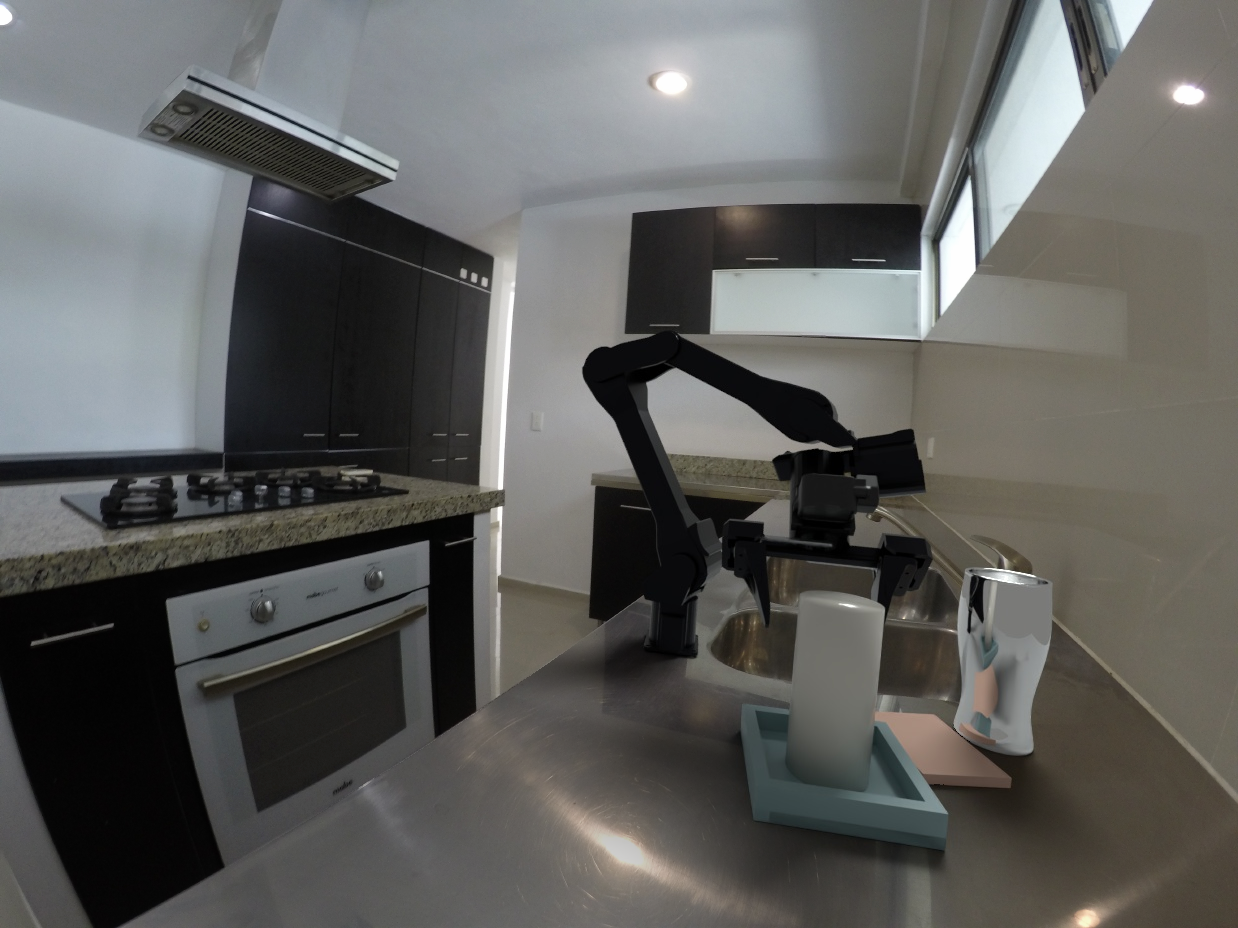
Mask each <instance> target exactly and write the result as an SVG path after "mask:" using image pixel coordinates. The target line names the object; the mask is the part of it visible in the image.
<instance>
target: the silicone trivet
mask: <svg viewBox="0 0 1238 928" xmlns="http://www.w3.org/2000/svg"><path fill="white" fill-rule="evenodd" d="M875 721H881V722H886V723H887V725H888V726H889V728H890V729H891V731H892V732H893V734H894V735H895V736H896V738H897V739H898V741H899V742H900V744H901V745H902V747H903V748H904V750H905V751H906V753H907V754H908V755H909V757H910V758H911V760H912V761H913V763H914V764H915V766H916V767H917V769H918V770H919V772H920V773H921V775H922V776H923V777H924V779H925V780H926V782H927V783H928V785H934V784H940V785H939V786H958V787H960V786H961V787H981V788H999V789H1011V786H1012V777H1011V776H1010V775H1008V773H1006V772H1005V771H1004V770H1002V768H1000V767H999V766H998V765H997V764H995V763H994V762H993V761H992V760H991V759H989V758H988V757H987V756H985V755H984V754H983V753H982V752H981V751H980V750H978V749H977V748H976V747H975V746H974V745H973V744H972V743H971V742H969V741H967V740H966V739H964V738H963V737H961V736H960V735H959V734H958V733H957V732H956V731H955V729H954V730H953V729H952V727H950V726H949V725H948V724H946V723H945V722H944V721H943V720H942V719H941V718H939V717H938V716H937V715H936V714H933V713H931V714H930V713H913V712H892V711H877V710H876V711H875ZM943 784H944V785H943Z"/></svg>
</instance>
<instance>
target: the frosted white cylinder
mask: <svg viewBox="0 0 1238 928" xmlns="http://www.w3.org/2000/svg"><path fill="white" fill-rule="evenodd" d="M884 615H885V608H884V606H882V605H881V604H879V603H877V602H875V601H873V600H871V598H870V599H869V598H866V597H863V596H859V595H855V594H851V593H845V592H842V591H832V590H815V589H814V590H806V591H802V592H800V593H799V597H798V608H797V618H796V619H797V620H796V629H795V631H796V632H795V641H794V642H795V643H794V652H793V653H794V654H793V655H794V656H793V665H792V666H793V667H792V679H791V687H790V688H791V689H790V701H789V722H788V733H787V745H786V756H785V763H786V766H787V768H788V769H789V771H790V772H791V773H792V774H793V775H794V776H795V777H796V778H798V779H799V780H801V781H802V782H804V783H806V784H808V785H815V786H822V787H829V788H835V789H842V790H849V791H856V792H862V791H864V790H865V789H866V788H867V787H868V785H869V776H870V765H871V754H872V744H873V733H874V722H875V711H877V710H876V709H877V699H878V687H879V677H880V669H881V668H880V667H881V658H882V657H881V654H882V647H883V646H882V644H883V634H884V629H883V625H884ZM884 626H885V625H884Z"/></svg>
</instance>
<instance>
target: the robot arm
mask: <svg viewBox="0 0 1238 928" xmlns="http://www.w3.org/2000/svg"><path fill="white" fill-rule="evenodd" d="M584 360H585V361H584V364H583V366H582V367H581V374H582V378H583V381H584V382H585V384H586V386H587V388H588V389H589V392H590V393H591V394H592V396H593V398H594V399H595V400H596V402H597V403H598V404H599V405H600V406H601V407H602V408H603V409H604V410H605V412H606V413H607V414H608V415H609V417H611V419H612V420H613V422H614V424H615V427H616V428H617V431H618V433H619V435H620V438H621V441H622V443H623V445H624V448H625V451H626V453H627V455H628V458H629V460H630V463H631V465H632V467H633V469H634V473H635V475H636V478H637V480H638V483H639V484H640V487H641V490H642V492H643V494H644V497H645V499H646V501H647V504H648V507H649V509H650V512H651V515H652V516H653V519H654V522H655V530H656V531H655V532H656V534H655V535H656V536H655V537H656V538H655V541H656V542H655V544H656V553H657V556H658V561H659V565H660V566H659V567H657V569H655V570H654V571H653V572H651V573H650V574H649V575H648V576H647V577H646V578H644V580H642V581H641V582H640V585H641V589H642V590H641V591H642V594H643V598H644V600H645V601H650V602H651V605H650V619H649V629H647V632H646V636H645V639H644V643H643V647H642V648H643V650H644V651H651V652H659V653H665V654H667V653H668V654H677V655H684V656H691V657H692V656H693V657H696V656H699V635H698V634H696V633H697V632H696V631H697V622H698V621H697V619H698V609H699V608H698V605H699V596H698V594H700V593H703V592H704V590H705V589H706V586H707V584H708V583H709V582H711V581H713V580H714V579H715V578H716V577H717V576H718V575H719V574H720V573H721V571H722V568H723V569H724V570H726V571H728V572H729V571H731V572H733V575H734V577H736V578H738V579H743V581H744V582H745V583H746V586H747V588H748V589H749V592H751V595H752V596H753V599H754V602H755V605H756V608H757V609H758V613H759V616H760V619H761V622H762V624H763V626H764V627H763V628H765V629H769V628H770V624H771V598H770V596H771V595H770V588H769V576H768V564H767V563H768V561H767V557H770V558H779V559H787V560H794V561H795V560H797V561H806V563H809V564H819V565H825V566H826V565H829V566H837V567H846V568H854V569H855V568H857V569H863V570H865V569H866V570H871V571H872V572H871V573H872V580H873V584H872V586H871V590H870V600H873V601H875V602H877V603H879V604H881V605H882V606H884V608H885V615H884V625H883V630H884V629H885V624H886V622H887V618H888V614H889V610H890V607H891V603H892V600H893V597H899V598H900V597H904V596H906V594H907V592H914V591H916V590H917V591H918V590H919V589H920V587H921V585H922V583H923V580H924V579H925V577H926V575H927V573H928V571H929V568H930V567H931V564H932V563H933V560H934V558H933V557H934V556H933V553H932V546H931V544H930V542H928V541H927V539H926V538H925V537H923V536H921V535H920V536H919V535H909V534H901V533H900V534H897V533H886V532H882V533H881V535H880V536H881V537H880V539H879V541H878V544H877V547H872V546H871V547H870V546H864V545H863V546H862V545H861V546H860V545H853V544H852V545H851V541H850V537H854V535H855V532H856V530H857V529H856V526H857V525H856V517H855V516H856V515H857V513H861V514H874V513H875V512H876V510H877V508H878V507H879V503H880V499H885V498H895V497H897V498H898V497H906V496H915V495H916V496H917V495H925V494H926V493H927V490H926V488H927V487H926V481H925V475H924V474H925V473H924V468H923V461H922V458H919V452H918V445H917V442H916V441H917V440H916V436H915V430H914V429H913V428H906V429H898V430H896V431H893V432H891V433H885V434H878V435H870V436H865V437H858V438H857V437H856V436H855V431H853V430H852V429H849V430H848V429H847V428H846V427H845V426H843V424H841V422H839V421H838V420H839V414H838V411H837V407H836V406H835V404H834V403H833V402H832V401H831V400H830V399H829V398H828V397H826V396H825V395H824V394H823V393H821V392H820V391H818V390H815V389H812V388H808V387H804V386H800V385H797V384H794V383H791V382H790V383H789V382H786V381H782V380H779V379H778V380H777V379H773V378H770V377H765V376H762V375H760V374H758V373H757V372H754V371H752V370H750V369H748V368H747V367H744V366H741V365H739V364H738V363H735V362H734V361H732V360H729V359H727V358H725V357H723V356H721V355H719V354H717V353H716V352H713V351H711V350H709V349H708V348H705V347H703V346H700V345H698V344H697V343H695V342H694V341H693V342H692V341H691V340H689V339H688V338H687V337H685V336H684V335H682V334H680V333H678V332H677V331H675V330H672V329H668V330H667V329H666V330H663V331H660V332H657V333H654V334H652V335H650V336H646V337H643V338H637V339H634V340H629V341H625V342H620V343H618V344H616V345H613V346H611V347H610V346H608V345H607V346H606V345H605V346H598V347H596V348H595V349H593V350H591V351H590V353H588V355H587V357H586V358H585V359H584ZM674 369H677V370H679V371H682V372H683V373H686V374H687V375H689V376H691V377H693V378H695V379H697V380H699V381H701V382H703V383H705V384H707V385H709V386H710V387H712V388H714V389H716V390H718V391H720V392H722V393H724V394H726V395H728V396H730V397H732V398H734V399H735V400H737V401H740V402H741V403H743V404H745V405H747V406H748V407H749V408H750V409H752V410H753V411H754V412H755V413H756V414H758V415H759V416H760V417H761V418H763V419H764V421H766V422H767V423H769V425H771V426H772V427H773V428H775V429H776V430H777V431H779V432H780V433H781V434H783V435H784V436H785V437H786V438H788V439H789V440H791V441H794V442H796V443H802V444H806V445H815V444H819V443H823V444H825V445H828V446H830V447H832V448H835V449H840V451H830V450H827V449H821V448H819V447H817V448H816V447H815V448H809V449H802V450H798V451H794V452H791V451H790V450H786V451H785V452H783V453H782V454H778V455H776V456H775V457H773V458H772V459H771V463H772V465H773V468H774V470H775V471H774V472H775V474H776V476H777V479H778V481H779V482H788V481H790V483H789V520H788V521H789V525H788V526H789V527H788V528H789V529H788V533H789V534H788V536H781V535H780V536H779V535H769V534H764V529H765V522H764V521H761V520H759V521H757V520H750V519H749V520H746V519H736V518H729V519H728V520H727V521H725V522H724V524H723V526H722V535H721V540H720V539H719V537H718V535H717V531H716V528H715V523H714V521H713V519H712V518H711V517H709V518H706V519H703V520H702V519H701V520H700V519H699V518H698V517H697V516H696V514H695V513H693V511H692V510H691V508H690V506H689V504H688V502H687V499H686V497H685V494H684V492H683V490H682V487H681V485H680V483H679V479H678V478H677V477H678V476H677V475H676V472H675V470H674V469H673V468H674V467H673V466H672V463H671V461H670V458H669V456H668V453H667V452H666V449H665V446H664V444H663V442H662V440H661V437H660V435H659V432H658V429H657V427H656V426H655V425H656V424H655V423H654V420H653V418H652V417H651V416H652V415H651V414H650V410H649V403H648V402H649V400H648V399H649V392H648V391H649V390H648V384H647V383H649V382H651V381H655V380H657V379H658V378H660V377H662V376H663V375H664V374H666V373H668V372H669V371H672V370H674ZM851 448H852V449H851ZM842 449H844V450H842ZM845 449H847V450H845ZM847 473H848V474H850V476H849V475H848V476H847V475H846V474H847ZM926 495H927V494H926Z"/></svg>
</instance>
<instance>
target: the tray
mask: <svg viewBox="0 0 1238 928" xmlns="http://www.w3.org/2000/svg"><path fill="white" fill-rule="evenodd" d="M741 704H742V705H741V718H740V727H739V728H740V729H739V730H740V738H741V744H742V751H743V758H744V763H745V769H746V778H747V784H748V785H747V786H748V790H749V791H748V792H749V798H750V805H751V812H752V819H753V821H756V822H761V823H762V822H764V823H770V824H775V825H781V826H789V827H794V828H800V829H805V830H807V829H808V830H813V831H819V832H826V833H831V834H837V835H838V834H839V835H844V836H851V837H857V838H862V839H863V838H864V839H870V840H877V841H883V842H888V843H895V844H901V845H908V846H914V847H920V848H926V849H933V850H939V851H945V852H946V847H947V846H946V844H947V834H948V825H949V812H948V811H947V810H946V809H945V808H946V807H944V806H943V804H942V803H941V801H940V799H939V798H938V797H937V795H936V794H935V792H934V791H933V790H932V787H930V784H928V783H927V782H926V780H925V779H924V777H923V776H922V775H921V773H920V772H919V770H918V769H917V767H916V766H915V764H914V763H913V761H912V760H911V758H910V757H909V755H908V754H907V753H906V751H905V750H904V748H903V747H902V745H901V744H900V742H899V741H898V739H897V738H896V736H895V735H894V734H893V732H892V731H891V729H890V728H889V726H888V725H887V723H886V722H881V721H875V722H874V733H873V744H872V754H871V765H870V776H869V785H868V787H867V788H866V789H865V790H864V791H862V792H856V791H849V790H842V789H835V788H829V787H822V786H815V785H808V784H806V783H804V782H802V781H801V780H799V779H798V778H796V777H795V776H794V775H793V774H792V773H791V772H790V771H789V769H788V768H787V766H786V763H785V756H786V745H787V733H788V722H789V710H790V708H789V709H788V708H782V707H781V708H780V707H773V706H772V707H771V706H765V705H759V704H758V705H756V704H751V703H741Z"/></svg>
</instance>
